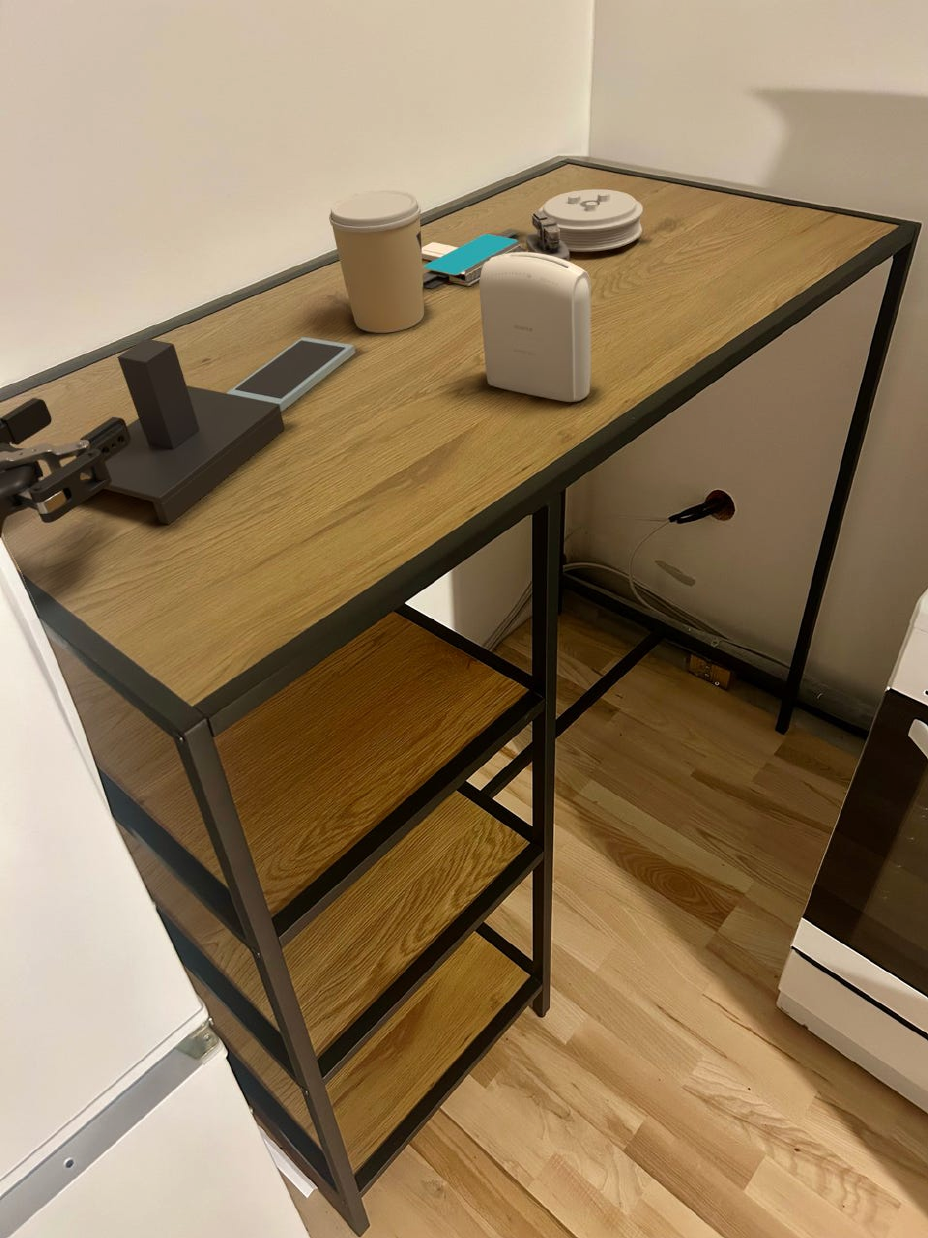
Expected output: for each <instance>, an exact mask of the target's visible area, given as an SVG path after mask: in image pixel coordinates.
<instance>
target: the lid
mask: <svg viewBox="0 0 928 1238" xmlns="http://www.w3.org/2000/svg"><path fill="white" fill-rule="evenodd" d="M537 211H542V212H543V213H544V214H545V215H546V216H547V217H548V218H549V219H551V218H555V219H556V221H557V226H558V228H559V229H560V240H561V241H563V242H564V244H565V245H566V246H567V248H568V251H569V252H581V253H582V252H583V253H584V252H585V253H586V252H599V251H600V252H601V251H606V250H613V249H616V248H621V247H623V246H625V245H628V244H631V243H632V242H634V241H636V240H637V239H639V237H640V236H641V235H642V231H643V228H642V225H641V223H640V222H641V217H642V215H643V211H644V207H643V205H642V204H641V202H639V201H637V200H636V199H635V197H634V196H632V195H631V194H629V193H626V192H623V191H619V190H612V189H601V188H600V189H599V188H597V189H596V188H595V189H593V188H592V189H581V190H573V191H568V192H565V193H561V194H558V195H556V196H553V197H551V198H549V199H548V200H547V201H546V202H545V203H544V204H543V205H542V206H540V208H539V209H538V210H537Z"/></svg>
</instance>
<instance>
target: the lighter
mask: <svg viewBox="0 0 928 1238" xmlns="http://www.w3.org/2000/svg"><path fill="white" fill-rule="evenodd" d="M531 225H532V226H533V227H534V229H536V230H537V231H533V232H529V233H527V234H526V236H525V244H526V248H527V250H528V252H530V253H539V254H545V255H549V256H553V257H557V258H560V259H563V260H565V261H568V262H570V251H568V248H567V246H566V245H565V244H564V242H563V241H561V240H560V229H559V228H558V226H557V221H556V219H555V218H551V219H549V218H548V217H547V216H546V215H545V214H544V213H543V212H542V211H538V210H535V211H533V213H532V214H531Z"/></svg>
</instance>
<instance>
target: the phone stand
mask: <svg viewBox="0 0 928 1238" xmlns="http://www.w3.org/2000/svg"><path fill="white" fill-rule="evenodd" d="M518 232H519V230H518V229H513V228H508V229H507V230H505V231H503V232H501V233H499V234H497V235H494V234H490V233H485V234H482V235H480V236H478V237H476V238H474V239H473V240H470V241H468V242H466V243H465V244H463V245H461V246H459V247H458V246H454V245H449V244H444V243H439V242H435V241H432V242H430V243H428V244H426V245H424V246H421V247H422V260H427V261H430V262H428V263H426V264H425V265H423V269H424V270H427V272H426V273H423V289H424V288H426V289H430V290H434V289H435V288H437V287H439V286H440V285H443V284H444V283H446V282H447V283H451V284H457V285H460V286H464V287H467V288H468V287H472V286H473V285H475V284H477V283H480V275H481V271H482V268H483V265H484V263H485V262H487V261H489V260H490V259H491V258H492V257H495V256H498V255H502V254H507V253H515V252H528V249H523V248H522V246H523V243H522V240H521V239H519V240H518V239H516V238H517V237H520V235H519V234H516V233H518ZM428 270H429V271H428Z"/></svg>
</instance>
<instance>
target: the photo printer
mask: <svg viewBox="0 0 928 1238" xmlns="http://www.w3.org/2000/svg"><path fill="white" fill-rule="evenodd" d="M478 283H479V284H478V290H479V301H480V314H481V326H482V327H481V328H482V338H483V351H484V362H485V363H484V364H485V375H486V381H487V383H488V384H489V385H490V386H492V387H494V388H499V389H504V390H507V391H511V392H516V393H520V394H526V395H531V396H535V397H540V398H544V399H550V400H555V401H562V402H567V403H572V402H573V403H577V402H580V401H582V400H584V399H585V398H587V397H588V396H589V394H590V391H591V383H592V289H591V288H592V286H591V284H592V283H591V278H590V276H589V273H588V272H587V271H586V270H585V269H583V268H582V267H580V266H578V265H576V264H574V263H573V262H570V261H569V262H568V261H565V260H563V259H560V258H557V257H553V256H549V255H545V254H539V253H530V252H515V253H507V254H502V255H498V256H495V257H492V258H491V259H490V260H489V261H487V262H485V263H484V265H483V268H482V271H481V275H480V281H479V282H478Z"/></svg>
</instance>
